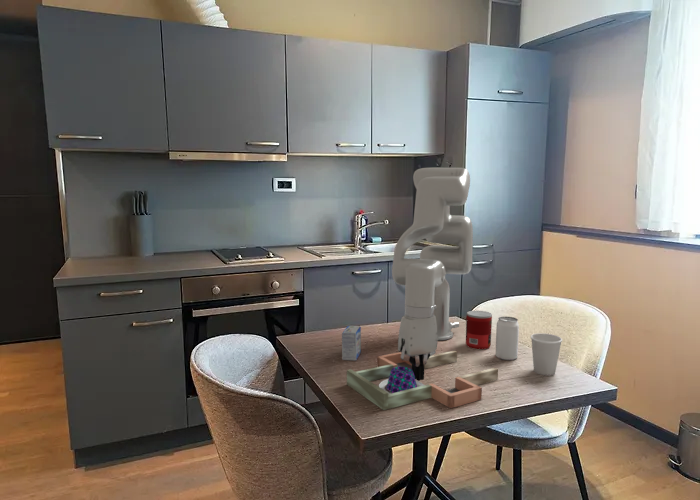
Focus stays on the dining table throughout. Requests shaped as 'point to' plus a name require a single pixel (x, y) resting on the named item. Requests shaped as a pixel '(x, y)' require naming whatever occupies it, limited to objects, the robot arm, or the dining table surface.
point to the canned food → (478, 329)
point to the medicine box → (351, 343)
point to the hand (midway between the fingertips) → (417, 378)
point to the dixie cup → (545, 352)
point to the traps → (449, 398)
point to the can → (507, 338)
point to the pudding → (400, 380)
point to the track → (387, 401)
